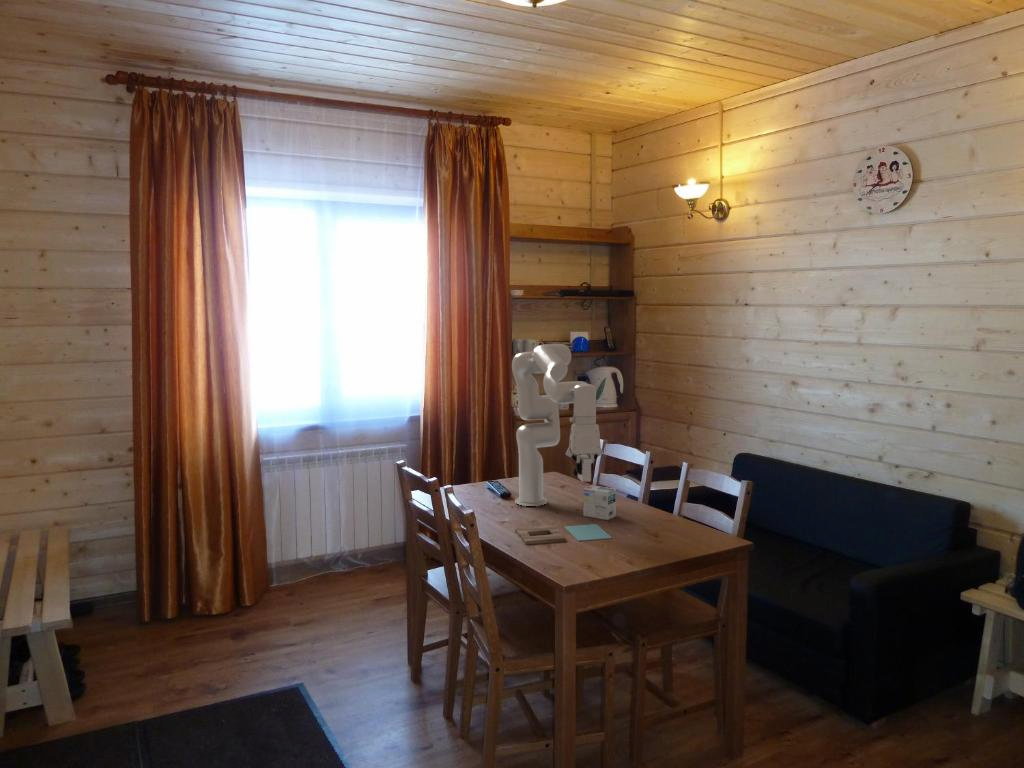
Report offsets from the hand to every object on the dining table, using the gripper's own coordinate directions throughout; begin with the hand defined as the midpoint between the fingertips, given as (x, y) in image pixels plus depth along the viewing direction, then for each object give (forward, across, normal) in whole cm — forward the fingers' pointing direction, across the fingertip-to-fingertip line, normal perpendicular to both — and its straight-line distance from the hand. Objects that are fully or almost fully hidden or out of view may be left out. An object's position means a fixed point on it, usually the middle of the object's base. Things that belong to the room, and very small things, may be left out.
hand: (584, 473), depth 261 cm
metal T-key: (+2, 0, 0) cm, 2 cm away
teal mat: (+21, +1, 0) cm, 21 cm away
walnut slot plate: (+21, -16, -1) cm, 26 cm away
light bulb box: (+22, +11, +19) cm, 31 cm away
